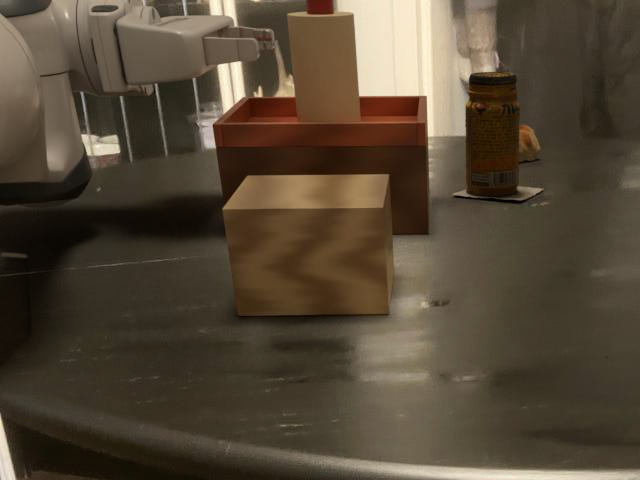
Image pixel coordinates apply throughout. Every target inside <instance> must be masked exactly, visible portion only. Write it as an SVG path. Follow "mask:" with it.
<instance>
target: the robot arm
mask: <svg viewBox="0 0 640 480" xmlns="http://www.w3.org/2000/svg"><path fill="white" fill-rule="evenodd" d="M275 47H276V40H275V33H274V31H273V30H272V29H271V28H256V27H255V28H254V27H248V26H241V25H240V26H239V25H238V26H237V25H235V20H234V18H233V17H232V16H229V15H223V14H209V15H208V14H207V15H206V14H205V15H204V14H203V15H201V14H200V15H170V16H164V17H161V16H160V14H159V12H158V10H157V9H156V8H155V6H153V5H152V6H151V5H150V6H147V5H144V4H143V2H142V0H0V206H2V207H9V206H10V207H11V206H20V207H24V208H34V209H42V208H43V209H44V208H45V209H46V208H51V207H52V208H54V207H58V206H63V205H65V204H67V203H69V202H71V201H73V200H76V199H79V197H80V196H81V195H82V194H83V193H84V191H85V190H86V188H87V186H88V185H89V183H90V181H91V180H92V177H93V171H92V167H91V164H90V158H89V156H88V152H87V149H86V145H85V143H84V141H83V137H82V132H81V127H80V122H79V118H78V113H77V109H76V104H75V97H74V95H73V93H86V94H90V95H92V96H96V97H150V96H151V95H152V93H153V92H154V89H155V84H163V83H172V82H180V81H181V82H182V81H187V80H191V79H195V78H198V77H201V76H203V75H204V74H206V73H207V72H209V71H211V70H213V69H214V68H216V67H218V66H220V65H225V64H232V63H238V62H255V61H257V60H259V58H260V53H261V52H260V51H272V50H273V49H275Z"/></svg>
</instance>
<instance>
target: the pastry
mask: <svg viewBox="0 0 640 480" xmlns="http://www.w3.org/2000/svg"><path fill="white" fill-rule="evenodd" d="M540 154H541V146H540V144H539V139H538V138H537V137H536V135H535V131H534V129H533V128H531V127H530V126H528V125H526V124H520V125H519V163H524V161H527V162H533V161H535V160H537V159H538V156H539V155H540Z"/></svg>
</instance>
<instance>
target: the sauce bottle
mask: <svg viewBox="0 0 640 480" xmlns="http://www.w3.org/2000/svg"><path fill="white" fill-rule="evenodd" d="M305 6H306V7H305V9H306V11H296V12H289V13H287V14H286V18H287V19H286V20H287V29H288V37H289V39H288V40H289V49H290V59H291V68H292V78H293V88H294V90H293V91H294V97H295V100H296V110H297V120H298V122H361V117H360V101H359V96H360V89H359V88H360V87H359V75H358V74H359V72H358V58H357V57H358V56H357V42H356V41H357V40H356V27H355V26H356V25H355V14H354V13H353V12H350V11H335V8H334V0H305Z"/></svg>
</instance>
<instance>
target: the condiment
mask: <svg viewBox="0 0 640 480" xmlns="http://www.w3.org/2000/svg"><path fill="white" fill-rule="evenodd" d="M517 82H518V78H517V75H516V74H514V73H513V72H504V71H479V72H473V73H470V75H469V77H468V93H467V94H468V95H469V97H468V101H466V104H465V113H464V114H465V119H464V120H465V125H464V126H465V141H464V142H465V165H464V166H465V184H466V187H467V188H465V189H463V190H460V191H456V192H454V193H452V196H460V197H467V198H476V199H478V198H479V199H495V200H505V201H507V200H514V201H524V200H527V199H529V198H532V197H533V196H534V197H535V196H536V195H537V194H538V193H541V191H543V190H544V188H539V187H531V186H521V185H519V181H520V180H519V176H520V174H519V170H520V168H519V166H520V165H519V163H520V162H519V126H520V119H521V118H520V117H521V116H520V114H521V112H520V111H521V108H520V102H519V101H518V89H517Z"/></svg>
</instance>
